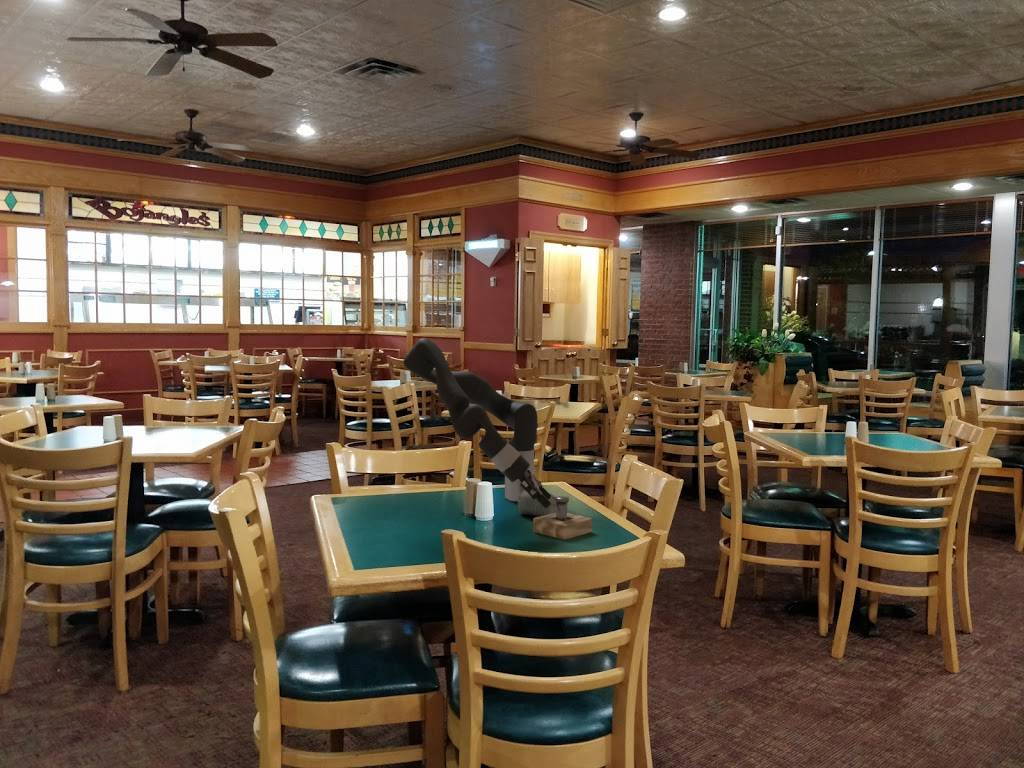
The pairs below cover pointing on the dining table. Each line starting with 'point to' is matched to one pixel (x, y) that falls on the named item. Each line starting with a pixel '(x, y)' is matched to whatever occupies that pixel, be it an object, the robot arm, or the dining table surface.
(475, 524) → the dining table surface
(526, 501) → the grey rounded rock
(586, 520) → the block
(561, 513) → the pin
